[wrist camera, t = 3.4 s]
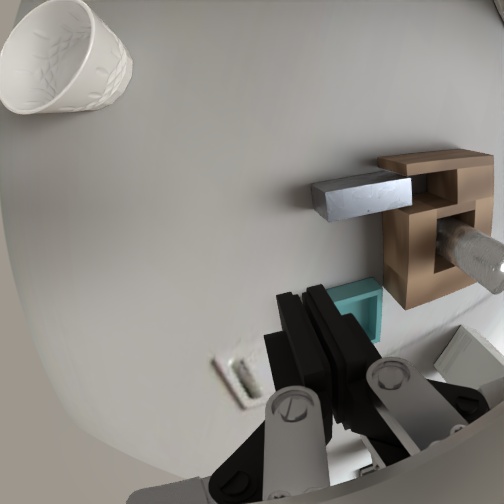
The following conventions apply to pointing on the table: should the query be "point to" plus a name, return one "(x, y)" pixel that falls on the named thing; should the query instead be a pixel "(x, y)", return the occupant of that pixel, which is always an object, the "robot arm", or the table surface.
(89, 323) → the table surface
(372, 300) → the tray
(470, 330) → the skincare box
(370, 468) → the external hard drive
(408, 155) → the socket block
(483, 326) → the table surface
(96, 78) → the white cup
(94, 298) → the table surface
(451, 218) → the peg
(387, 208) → the bar
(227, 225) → the table surface
